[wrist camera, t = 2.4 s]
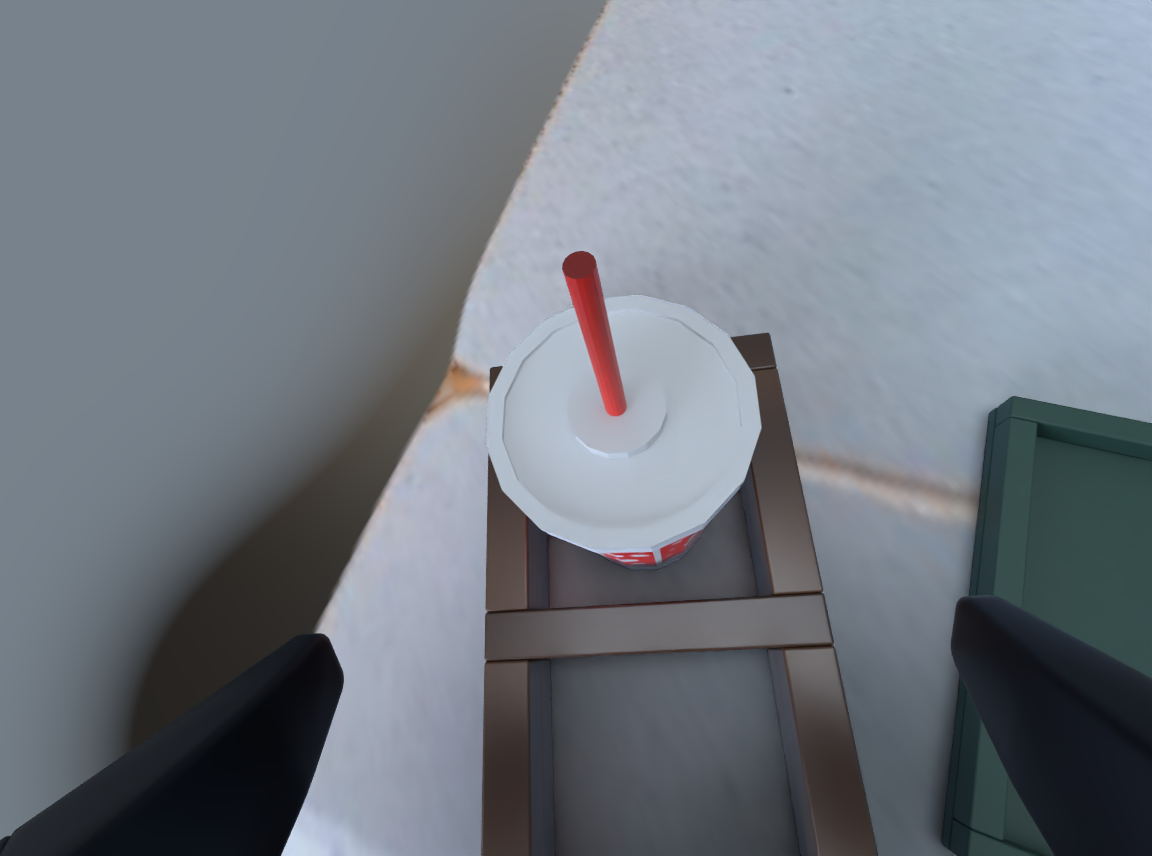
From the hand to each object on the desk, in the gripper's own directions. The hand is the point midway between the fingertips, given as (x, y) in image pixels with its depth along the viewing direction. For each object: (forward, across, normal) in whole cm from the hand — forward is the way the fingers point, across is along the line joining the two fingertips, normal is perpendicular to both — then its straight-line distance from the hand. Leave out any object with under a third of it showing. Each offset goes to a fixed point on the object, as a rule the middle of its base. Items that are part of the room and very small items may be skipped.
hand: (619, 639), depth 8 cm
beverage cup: (+12, 0, +5) cm, 13 cm away
